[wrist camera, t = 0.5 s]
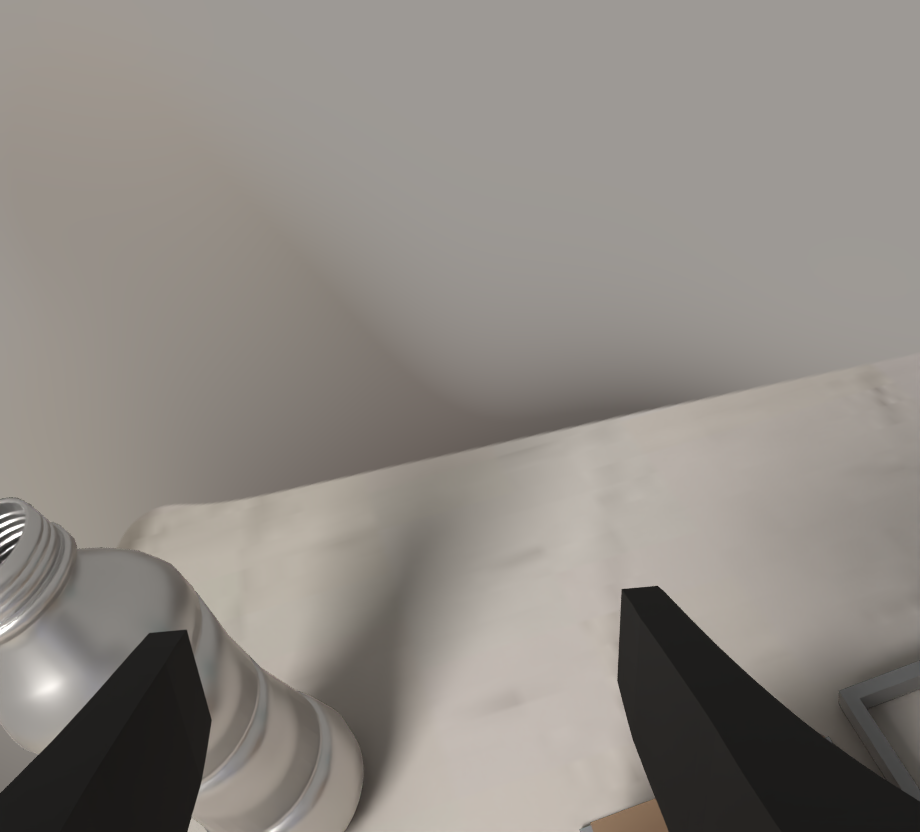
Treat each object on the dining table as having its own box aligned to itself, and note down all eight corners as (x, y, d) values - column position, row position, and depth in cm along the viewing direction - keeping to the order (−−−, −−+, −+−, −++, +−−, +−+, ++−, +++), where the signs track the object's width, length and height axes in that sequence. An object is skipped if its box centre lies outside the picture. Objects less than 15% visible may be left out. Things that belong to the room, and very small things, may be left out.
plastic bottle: (398, 730, 35) (122, 449, 21) (351, 900, 30) (-30, 680, 17) (281, 717, 37) (-29, 458, 24) (223, 872, 33) (-195, 661, 20)
